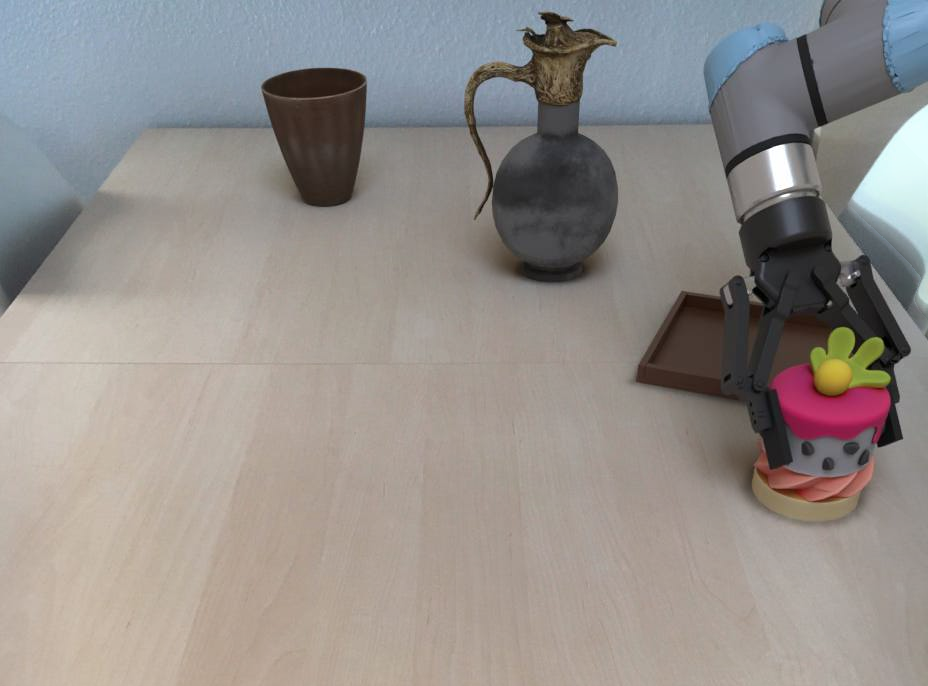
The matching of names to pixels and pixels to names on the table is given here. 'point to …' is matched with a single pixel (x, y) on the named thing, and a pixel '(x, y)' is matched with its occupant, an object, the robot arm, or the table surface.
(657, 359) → the tray
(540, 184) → the pitcher
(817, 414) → the cake
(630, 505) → the table surface
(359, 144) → the flower pot
